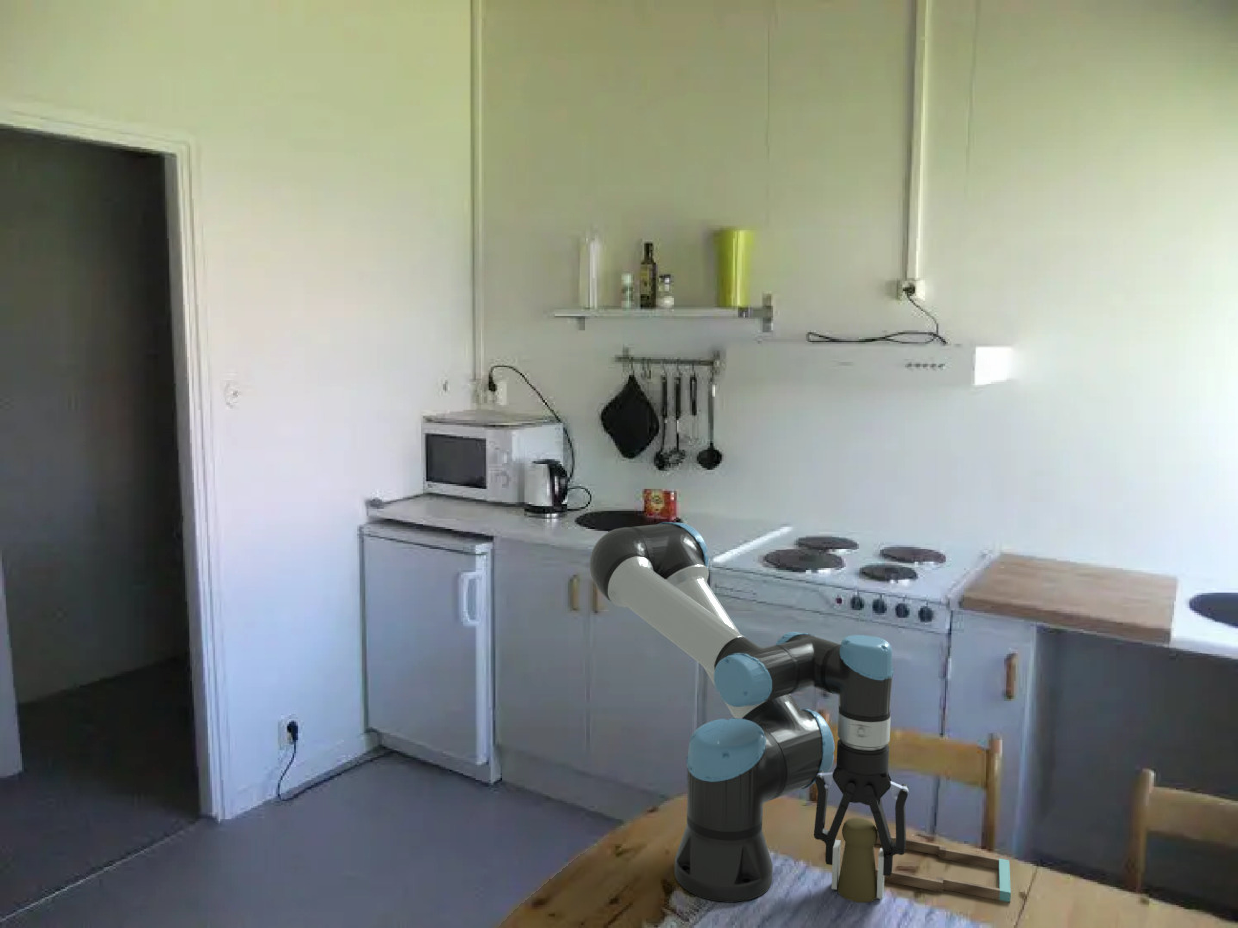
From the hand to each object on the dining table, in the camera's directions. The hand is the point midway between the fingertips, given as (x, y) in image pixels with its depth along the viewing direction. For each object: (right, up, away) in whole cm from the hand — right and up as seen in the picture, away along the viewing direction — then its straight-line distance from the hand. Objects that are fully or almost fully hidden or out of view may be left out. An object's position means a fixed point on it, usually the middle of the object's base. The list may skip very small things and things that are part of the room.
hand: (857, 889), depth 143 cm
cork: (0, -1, 0) cm, 1 cm away
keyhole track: (+14, 0, +6) cm, 15 cm away
